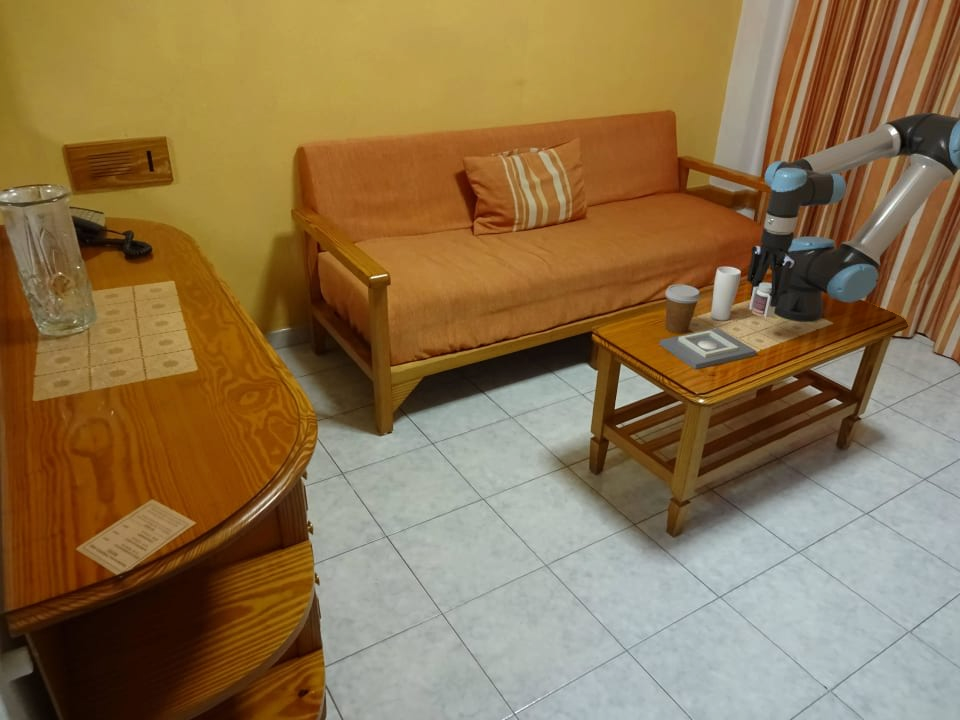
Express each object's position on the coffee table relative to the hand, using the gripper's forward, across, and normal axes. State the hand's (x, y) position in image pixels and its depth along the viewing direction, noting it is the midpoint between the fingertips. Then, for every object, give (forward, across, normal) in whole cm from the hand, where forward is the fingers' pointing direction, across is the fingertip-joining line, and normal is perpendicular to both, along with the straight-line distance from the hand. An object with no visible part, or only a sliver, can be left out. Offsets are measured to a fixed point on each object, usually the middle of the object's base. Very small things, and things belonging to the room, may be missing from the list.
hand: (761, 312), depth 187 cm
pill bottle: (+1, 0, 0) cm, 1 cm away
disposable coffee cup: (+8, -14, -17) cm, 23 cm away
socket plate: (+8, 0, -18) cm, 19 cm away
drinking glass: (+8, -15, 0) cm, 17 cm away
